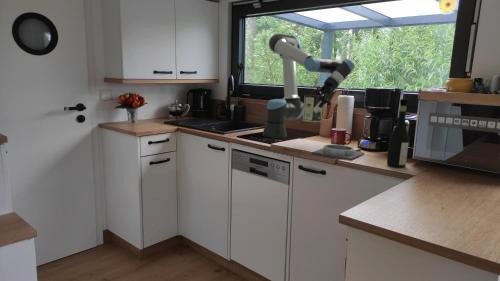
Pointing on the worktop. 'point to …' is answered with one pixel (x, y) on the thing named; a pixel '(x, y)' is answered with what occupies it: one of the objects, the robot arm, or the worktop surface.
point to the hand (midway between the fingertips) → (308, 110)
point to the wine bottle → (399, 140)
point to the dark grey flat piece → (339, 152)
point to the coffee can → (309, 104)
